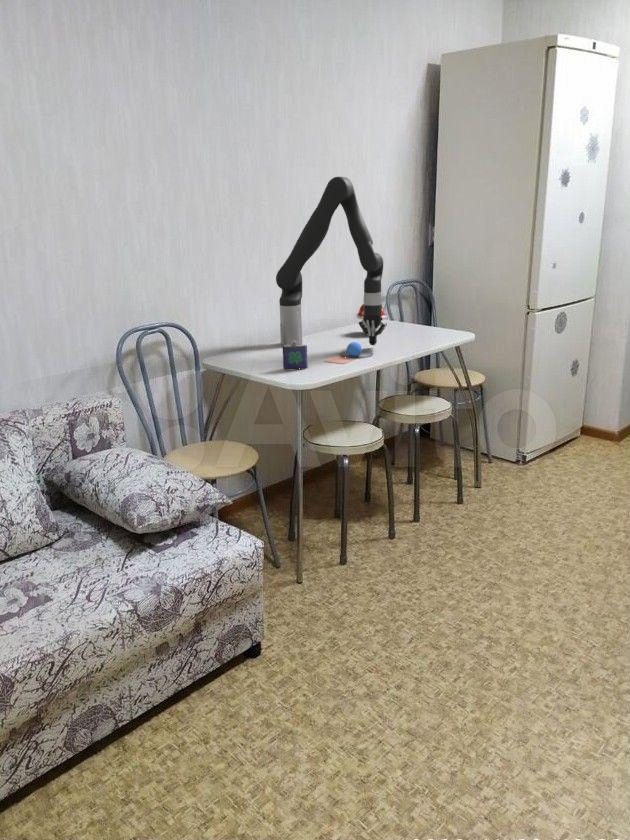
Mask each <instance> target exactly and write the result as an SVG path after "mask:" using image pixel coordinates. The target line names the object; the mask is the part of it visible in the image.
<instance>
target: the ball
mask: <svg viewBox="0 0 630 840" xmlns="http://www.w3.org/2000/svg"><path fill="white" fill-rule="evenodd" d="M362 350H363V348H362V345H361V344H360V343H358V342H356V341H351V342H350V343H349V344H348V345H347V346H346V351H347V353H348V355H349V356H351V357H357V356H359V355H360V354H361V352H362Z"/></svg>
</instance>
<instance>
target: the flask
mask: <svg viewBox="0 0 630 840" xmlns="http://www.w3.org/2000/svg"><path fill="white" fill-rule="evenodd" d="M296 342H297V341H293V344H289V345H288V344H287V345H284V346H282V364H283V365H282V368H283V370H284V369H296V370H303V369H302V368H307V369H308V368H309V364H308V361H309V360H308V345H307V344H301V345H297V344H296ZM299 368H300V369H299Z"/></svg>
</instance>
